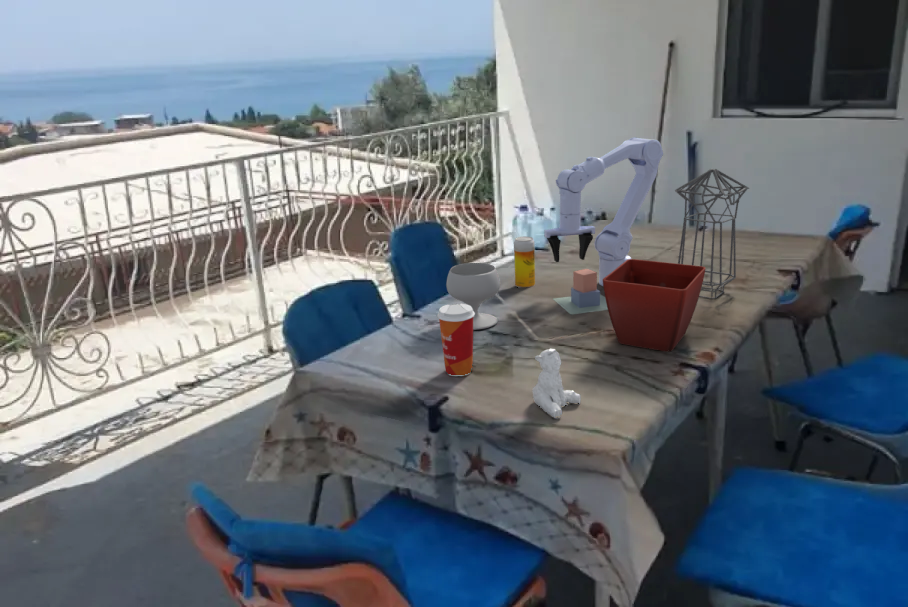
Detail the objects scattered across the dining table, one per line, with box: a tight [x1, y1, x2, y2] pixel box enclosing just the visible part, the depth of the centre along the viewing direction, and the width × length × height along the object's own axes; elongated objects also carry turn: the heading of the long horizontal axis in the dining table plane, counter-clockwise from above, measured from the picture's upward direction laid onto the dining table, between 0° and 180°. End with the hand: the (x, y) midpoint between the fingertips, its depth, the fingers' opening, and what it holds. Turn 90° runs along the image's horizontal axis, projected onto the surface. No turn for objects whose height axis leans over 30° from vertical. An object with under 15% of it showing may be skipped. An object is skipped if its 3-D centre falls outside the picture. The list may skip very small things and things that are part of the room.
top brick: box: [572, 268, 598, 293], centre depth 194 cm, size 4×4×5 cm
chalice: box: [445, 262, 501, 331], centre depth 186 cm, size 14×14×15 cm
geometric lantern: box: [674, 168, 750, 300], centre depth 196 cm, size 16×16×35 cm
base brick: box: [570, 286, 601, 308], centre depth 196 cm, size 6×6×4 cm
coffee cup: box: [436, 303, 475, 375], centre depth 157 cm, size 8×8×15 cm
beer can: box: [513, 236, 536, 289], centre depth 213 cm, size 6×6×15 cm
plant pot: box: [602, 258, 707, 352], centre depth 169 cm, size 19×19×17 cm
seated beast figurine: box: [531, 348, 582, 419], centre depth 140 cm, size 10×9×12 cm
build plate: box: [552, 293, 608, 315], centre depth 196 cm, size 14×14×1 cm
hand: (569, 260), depth 203 cm, fingers open, 7 cm apart
